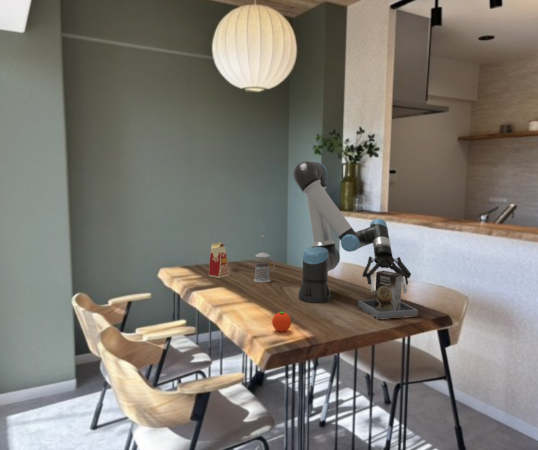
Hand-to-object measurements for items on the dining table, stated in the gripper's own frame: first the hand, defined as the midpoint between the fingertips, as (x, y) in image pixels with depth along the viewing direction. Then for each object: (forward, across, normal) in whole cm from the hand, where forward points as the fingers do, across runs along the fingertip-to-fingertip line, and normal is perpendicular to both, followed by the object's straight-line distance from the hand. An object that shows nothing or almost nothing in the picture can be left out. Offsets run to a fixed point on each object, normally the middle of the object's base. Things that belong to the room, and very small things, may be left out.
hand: (389, 290), depth 180 cm
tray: (+6, 0, -8) cm, 10 cm away
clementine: (+24, +45, +10) cm, 52 cm away
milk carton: (-38, +81, -53) cm, 104 cm away
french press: (-32, +54, -46) cm, 78 cm away
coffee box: (+5, 0, -8) cm, 9 cm away
